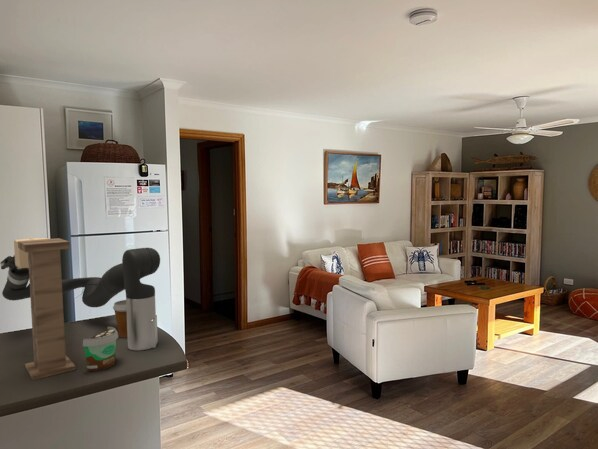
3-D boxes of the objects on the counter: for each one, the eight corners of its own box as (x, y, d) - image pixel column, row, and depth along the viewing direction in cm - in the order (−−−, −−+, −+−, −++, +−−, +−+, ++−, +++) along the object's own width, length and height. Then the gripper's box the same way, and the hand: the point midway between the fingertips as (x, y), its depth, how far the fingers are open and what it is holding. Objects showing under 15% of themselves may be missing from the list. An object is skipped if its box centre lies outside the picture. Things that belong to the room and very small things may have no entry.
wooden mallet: (53, 264, 141) (51, 239, 140) (20, 268, 135) (18, 242, 134) (38, 256, 158) (37, 234, 157) (9, 259, 152) (7, 236, 151)
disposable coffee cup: (116, 341, 154) (114, 307, 153) (112, 333, 163) (111, 301, 162) (144, 336, 159) (143, 303, 158) (139, 329, 167) (138, 298, 166)
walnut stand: (75, 369, 130) (69, 241, 127) (33, 380, 123) (25, 245, 120) (65, 357, 140) (59, 238, 136) (25, 367, 132) (17, 241, 129)
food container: (102, 374, 127) (101, 340, 126) (83, 373, 128) (82, 339, 127) (127, 358, 139) (126, 327, 138) (110, 356, 140) (108, 326, 139)
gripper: (-4, 264, 159) (0, 244, 147) (40, 259, 168) (48, 241, 156) (-2, 283, 157) (3, 265, 145) (43, 278, 166) (51, 260, 154)
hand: (26, 252), depth 151 cm, fingers closed on wooden mallet, 3 cm apart
